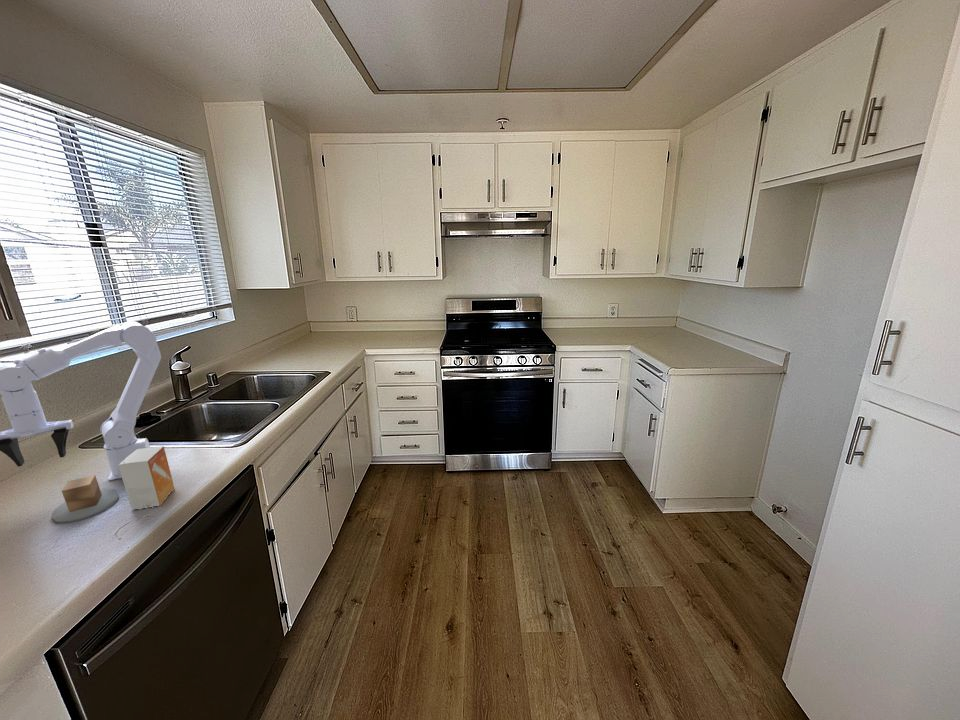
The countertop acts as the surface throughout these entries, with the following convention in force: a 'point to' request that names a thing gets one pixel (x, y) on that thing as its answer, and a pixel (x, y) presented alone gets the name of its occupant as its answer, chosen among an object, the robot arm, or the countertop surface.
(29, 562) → the countertop surface
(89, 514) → the slate dish
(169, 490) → the small box
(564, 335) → the countertop surface
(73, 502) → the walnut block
